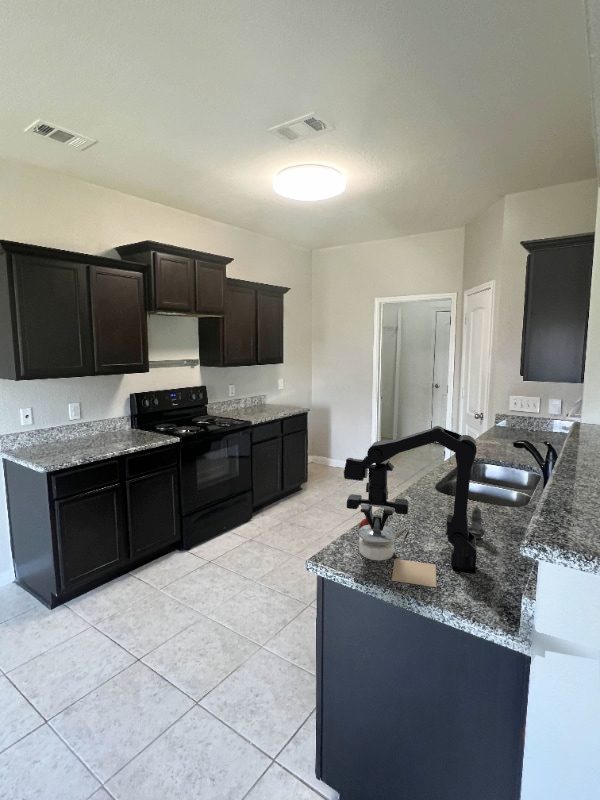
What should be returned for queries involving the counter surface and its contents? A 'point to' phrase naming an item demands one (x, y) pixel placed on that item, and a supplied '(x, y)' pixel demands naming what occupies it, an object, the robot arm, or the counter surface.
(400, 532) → the tweezers
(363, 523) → the onion
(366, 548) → the bowl
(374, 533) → the lid
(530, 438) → the counter surface
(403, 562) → the mat
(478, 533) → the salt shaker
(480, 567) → the counter surface
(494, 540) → the counter surface
